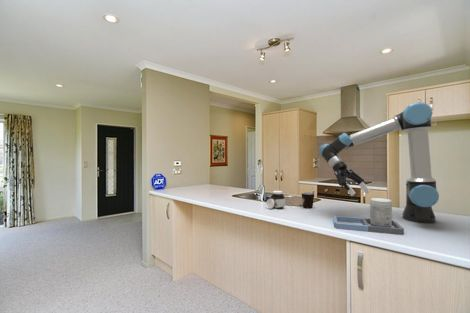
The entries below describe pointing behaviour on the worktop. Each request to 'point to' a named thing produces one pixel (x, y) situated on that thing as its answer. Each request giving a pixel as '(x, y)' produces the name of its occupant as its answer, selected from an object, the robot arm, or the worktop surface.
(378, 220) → the supplement tub
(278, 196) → the spread jar
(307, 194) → the coffee mug
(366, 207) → the worktop surface
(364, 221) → the bay frame
